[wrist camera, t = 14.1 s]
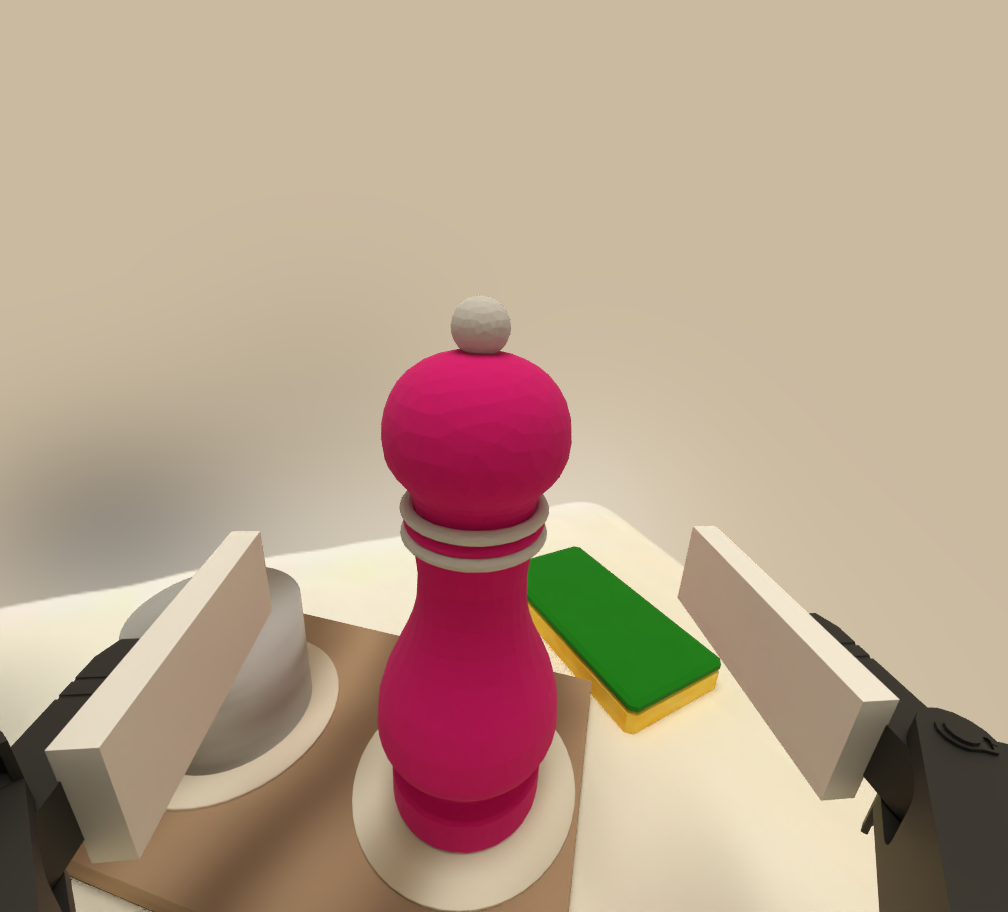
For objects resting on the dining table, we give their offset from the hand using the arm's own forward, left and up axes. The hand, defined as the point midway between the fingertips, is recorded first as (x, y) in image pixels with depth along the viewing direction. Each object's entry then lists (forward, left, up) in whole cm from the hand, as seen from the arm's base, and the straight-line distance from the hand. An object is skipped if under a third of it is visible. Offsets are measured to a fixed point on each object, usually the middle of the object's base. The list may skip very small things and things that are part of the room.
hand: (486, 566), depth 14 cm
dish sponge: (+4, +15, -14) cm, 21 cm away
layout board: (-7, +2, -14) cm, 15 cm away
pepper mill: (-1, +2, -12) cm, 13 cm away
